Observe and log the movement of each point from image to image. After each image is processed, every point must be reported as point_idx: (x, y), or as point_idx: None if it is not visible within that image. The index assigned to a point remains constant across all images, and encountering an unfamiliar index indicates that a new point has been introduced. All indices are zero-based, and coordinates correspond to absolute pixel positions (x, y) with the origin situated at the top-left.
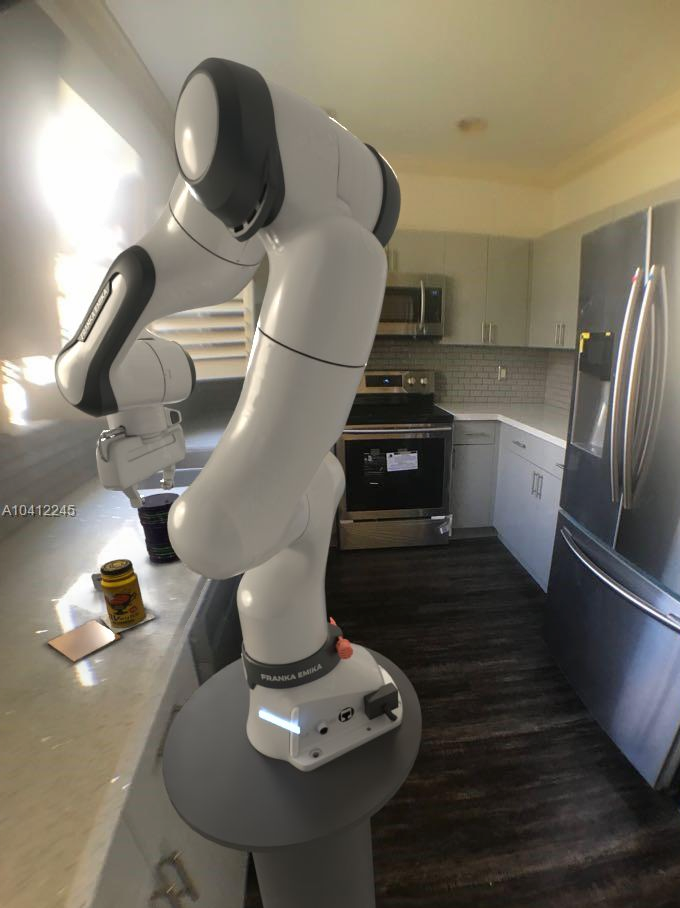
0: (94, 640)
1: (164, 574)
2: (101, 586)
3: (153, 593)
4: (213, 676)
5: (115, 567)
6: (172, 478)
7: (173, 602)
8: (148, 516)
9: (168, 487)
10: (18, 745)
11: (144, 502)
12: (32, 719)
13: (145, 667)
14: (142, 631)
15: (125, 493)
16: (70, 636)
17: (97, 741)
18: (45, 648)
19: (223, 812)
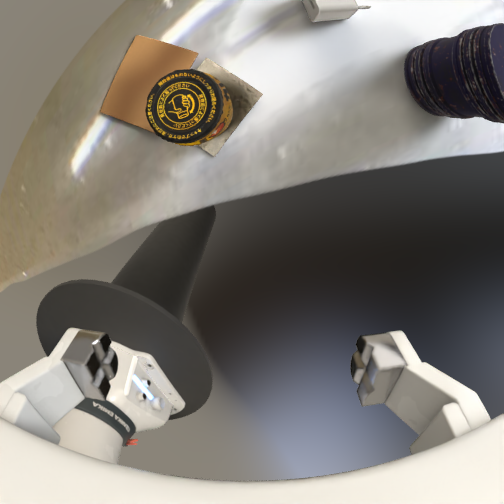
0: (143, 99)
1: (369, 92)
2: (305, 3)
3: (299, 103)
4: (127, 295)
5: (168, 114)
6: (392, 406)
7: (269, 160)
8: (473, 53)
9: (354, 369)
10: (15, 169)
11: (108, 374)
12: (32, 152)
13: (109, 217)
14: (177, 157)
15: (18, 378)
16: (150, 54)
17: (33, 237)
18: (127, 42)
19: (47, 339)
